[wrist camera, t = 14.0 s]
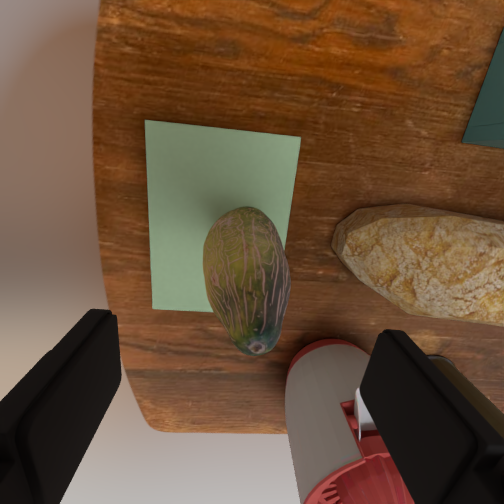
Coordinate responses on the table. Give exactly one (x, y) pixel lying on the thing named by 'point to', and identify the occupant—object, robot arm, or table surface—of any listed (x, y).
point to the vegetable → (247, 278)
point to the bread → (427, 260)
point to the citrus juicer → (337, 430)
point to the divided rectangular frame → (489, 106)
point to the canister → (471, 393)
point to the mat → (207, 197)
